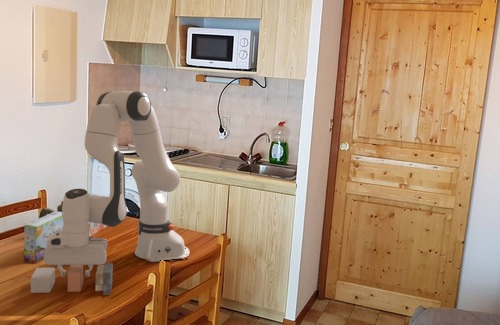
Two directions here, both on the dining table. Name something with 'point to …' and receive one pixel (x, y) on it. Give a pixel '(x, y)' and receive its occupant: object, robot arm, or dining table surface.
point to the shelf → (104, 278)
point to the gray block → (42, 280)
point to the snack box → (40, 235)
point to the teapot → (50, 210)
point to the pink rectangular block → (75, 278)
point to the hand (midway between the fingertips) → (75, 275)
